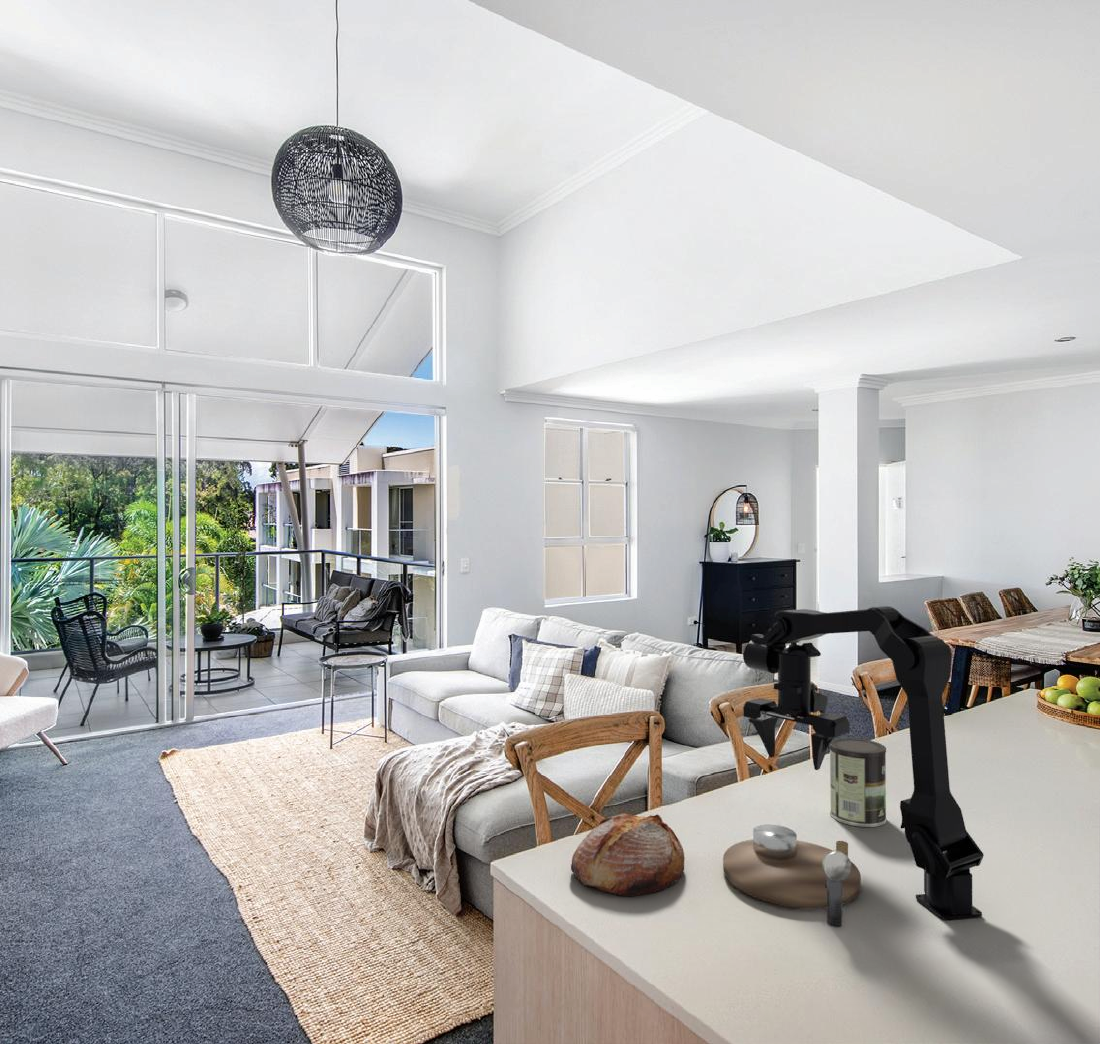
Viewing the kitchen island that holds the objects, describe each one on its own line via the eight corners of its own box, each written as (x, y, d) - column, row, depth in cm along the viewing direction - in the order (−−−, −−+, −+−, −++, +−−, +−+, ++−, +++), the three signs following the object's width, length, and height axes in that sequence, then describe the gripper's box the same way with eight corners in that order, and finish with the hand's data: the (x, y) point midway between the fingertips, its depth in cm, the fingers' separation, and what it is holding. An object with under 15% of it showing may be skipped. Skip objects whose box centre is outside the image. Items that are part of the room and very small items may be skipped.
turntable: (889, 902, 111) (889, 872, 111) (756, 913, 107) (756, 882, 107) (818, 843, 131) (817, 817, 131) (704, 850, 128) (704, 824, 128)
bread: (707, 882, 121) (710, 821, 120) (615, 918, 109) (618, 852, 109) (638, 841, 134) (641, 786, 134) (550, 870, 123) (552, 810, 122)
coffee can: (879, 809, 149) (879, 739, 149) (892, 830, 139) (892, 754, 139) (825, 805, 151) (825, 736, 151) (834, 825, 141) (834, 751, 141)
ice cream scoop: (851, 926, 105) (851, 852, 105) (825, 928, 105) (824, 853, 105) (839, 914, 108) (839, 842, 108) (814, 917, 108) (813, 844, 108)
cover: (804, 858, 122) (804, 840, 122) (764, 861, 121) (764, 843, 121) (784, 840, 129) (784, 823, 129) (746, 843, 128) (746, 825, 128)
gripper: (864, 680, 134) (864, 766, 134) (774, 665, 148) (774, 743, 148) (833, 689, 127) (833, 780, 127) (741, 672, 141) (741, 754, 141)
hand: (793, 763), depth 136 cm, fingers open, 9 cm apart
